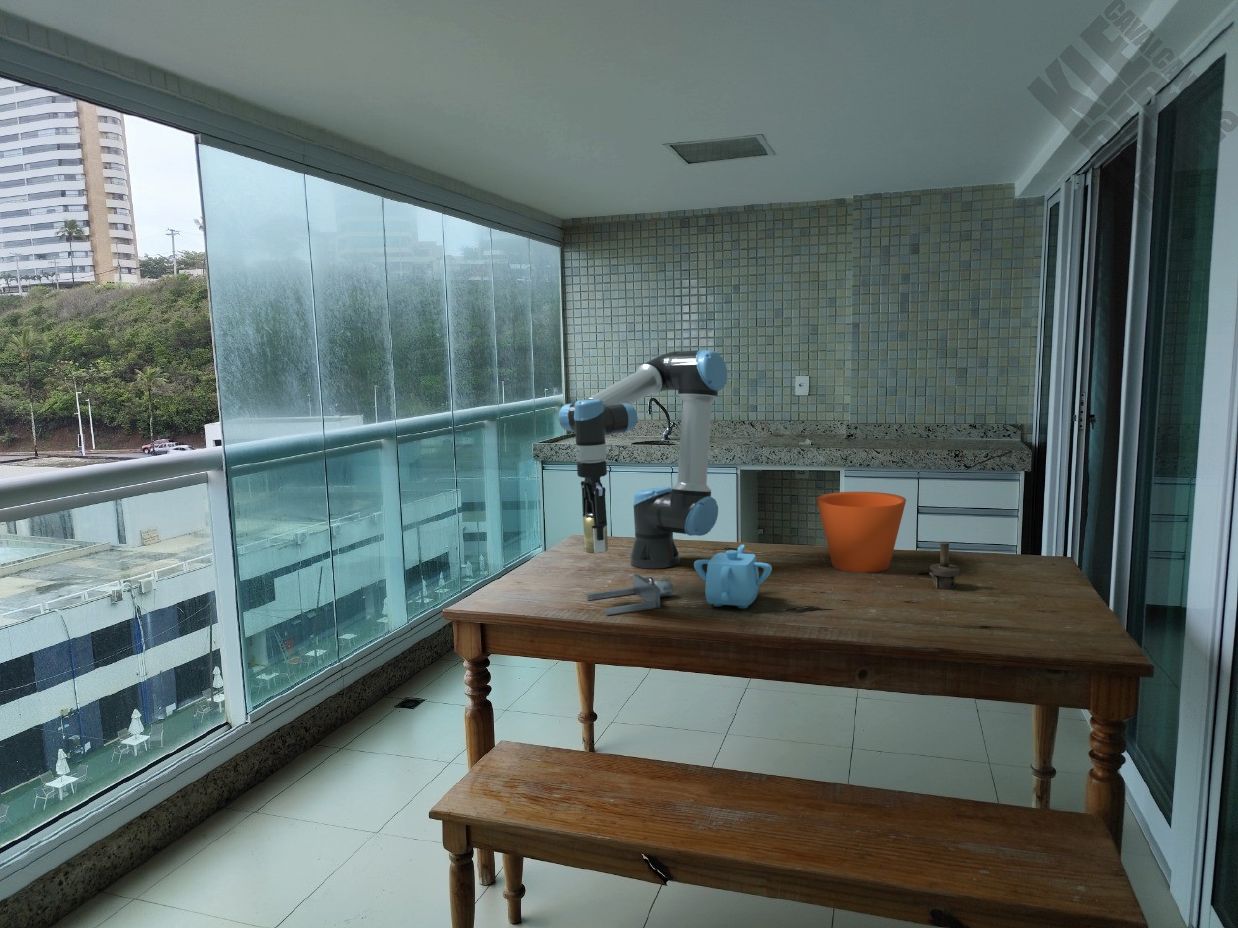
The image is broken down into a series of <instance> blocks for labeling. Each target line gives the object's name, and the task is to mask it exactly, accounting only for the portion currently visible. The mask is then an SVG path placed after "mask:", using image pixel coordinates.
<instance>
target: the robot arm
mask: <svg viewBox="0 0 1238 928" xmlns="http://www.w3.org/2000/svg"><path fill="white" fill-rule="evenodd" d="M727 382H728V369H727V364H726V362H725V360H724V358H723V357H722V355H721V353H718V352H717V351H714V350H707V349H699V350H685V351H684V350H682V351H681V350H680V351H678V350H675V351H670V352H666V353H664V354H661V355H658V356H657V357H654V358H653V359H650V360H649V361H647V362H645V363H642V364H640V365H639V367H638V368H637V369H636V371H635V372H633V373H632V374H630V375H628V376H626V377H625V378H622V379H620V380H619V381H617V382H615V383H613V384H611V385H610V386H608V387H606V388H604V389H602V390H600V391H599V392H597V393H595V394H593V395H591V396H589V397H588V398H586V399H580V400H577V401H576V402H575V403H574V402H572V403H566V404H564V405H563V406H561V408H560V410H559V412H558V421H559V422H558V423H559V425H560V426H561V428H562V429H564V430H565V431H567V432H572V433H573V432H574V433H575V447H576V448H575V449H574V450H573V452H574V453H575V454H576V460H577V463H576V471H577V477H579V478H582V479H584V480H581V481H580V485H581V499H582V500H581V501H582V502H581V503H582V505H581V507H582V517H583V516H585V515H586V513H589V512H593V519H594V526H592V529H593V535H594V553H595V554H601V553H600V552H603V553H606V552H605V534H604V527H605V526H607V527H608V521H607V520H608V519H607V506H606V505H607V504H606V487H605V486H604V487H603V483H602V482H601V478H602V477H605V476H606V475H607V474H608V470H607V466H608V465H607V461H606V459H607V444H606V436H607V435H615V434H620V433H623V434H624V433H626V432H630V431H632V430H633V429H634V428H635V427H636V426H637V425H638V424H637V423H638V413H637V411H636V408H635V407H634V406H633V405H632V404H635V403H636V402H638V401H640V400H641V399H644V398H645V397H646V396H648V395H651V396H653V395H657V394H658V393H661V392H664V391H677V392H678V393H677V396H678V397H679V398H680V400H681V401H682V405H681V407H682V408H681V420H680V421H681V423H680V434H679V435H680V438H679V454H678V467H677V480H676V481H677V482H676V483H675V484H674V485H673V486H671V487H670V486H661V487H658V486H657V487H651V488H645V489H640V490H638V491H636V492H635V493H634V495H633V504H632V505H633V520H634V541H633V546H632V549H631V552H630V556H629V561H630V562H629V563H630V565H631V566H633V567H636V568H642V569H664V568H670V567H671V568H672V567H674V566H676V565H679V564H680V554H679V553H680V552H679V551H678V548H677V545H676V542H675V540H674V534H675V533H676V534H682V535H688V536H690V537H691V536H697V537H701V536H705V535H708V534H709V533H710V532H711V530H712V529H713V528H714V526H715V525H716V524H717V520H718V515H719V506H718V505H719V504H718V503H717V500H716V499H715V498H714V497H712V489H711V488H710V487H709V486H708V484H707V482H708V481H707V480H708V470H709V469H708V466H709V455H710V454H709V452H710V451H709V450H710V448H709V447H710V436H711V425H712V424H711V422H712V421H711V420H712V405H713V404H714V403H713V402H714V401H716V400H717V399H718V393H719V391H721V390H723V389H724V388H725V387H726V384H727Z"/></svg>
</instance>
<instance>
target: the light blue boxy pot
mask: <svg viewBox="0 0 1238 928" xmlns="http://www.w3.org/2000/svg"><path fill="white" fill-rule="evenodd" d="M745 547H746V546H745V544H740V545H739V546H738V547H737V550H734V549H730V550H726V551H725V552H717V553H716V554H715V555H713V556H712V557H711V558H710V559H697V560H695V561H694V563H693V567H694V569H695V571H696V573H697V574H698V575H699V576H700V577H701V579H703V580H704V581H705V585H704V586H705V600H706V603H707V604H711V605H712V606H713V607H717V608H718V607H722V606H724V605H725V606H734V607H735V606H736V607H737V608H738V609H747V608H749V606H750V605H752V604H753V603H754V601H755V600H756V599H757V597H758V595H759V589H760V585H761V584H762V583H763V582H765V580H766V579H767V578H769V576H770V575H771V573H772V570H773V567H772V565H771V564H770V563H766V562H760V561H758V560H757V557H756V556H757V555H756V554H754V553H745ZM757 561H758V562H757ZM703 565H707V566H706V567H707V569H706V572H705V570H704V568H703ZM759 568H762V569H763V572H762V573H761V575H759V574H760V573H759Z"/></svg>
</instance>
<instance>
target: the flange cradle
mask: <svg viewBox="0 0 1238 928" xmlns="http://www.w3.org/2000/svg"><path fill="white" fill-rule="evenodd" d="M632 578H633V579H632V581H633V582H632V583H633V584H632V585H633V586H632V587H625V588H620V589H618V588H617V589H612V590H605V591H598V592H591V593H586V601H595V600H601V599H609V598H616V597H622V596H628V595H637V596H638V597H639V598H641V599H642V600H644V602H639V603H632V604H626V605H619V606H613V607H611V606H610V607H606V608H604V615H605V616H612V615H619V614H626V613H632V612H639V611H644V610H645V611H646V610H652V609H657V608H658V609H659V608H661V598H662V597H670V596H672V595H673V592H674V591H673V590H674V589H673V588H674V587H673V584H672V581H671V579H669V578H664V579H656V580H654V578H653V577H651V576H648V577H645V578H644V577H642V576H641V575H640V574H638V573H635V574H632Z"/></svg>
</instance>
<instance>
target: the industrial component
mask: <svg viewBox="0 0 1238 928" xmlns="http://www.w3.org/2000/svg"><path fill="white" fill-rule="evenodd" d="M939 545H940V548H939V549H940V551H939V555H940V556H939V557H940V561H939V563H934V564H932V565H930V566H929V569H930V572H929V575H930V576H931V578H933V587H934V588H935V589H943V590H944V589H946V590H947V589H948V590H949V589H953V588H955V585H956V584H955V580H956V579H955V578H956V576H959V574H960V567H959V566H957V565H954V564H950V543H949V542H948V541H941V542H940V543H939Z"/></svg>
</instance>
